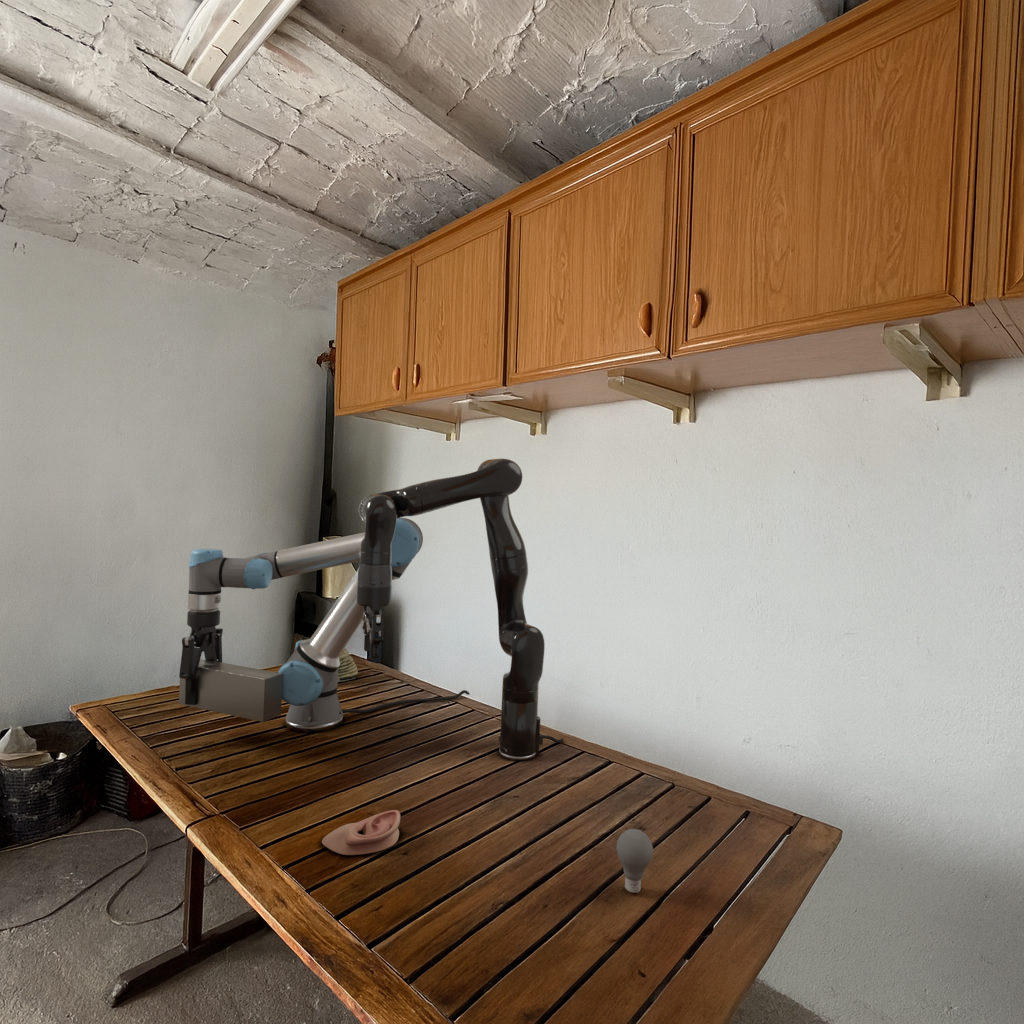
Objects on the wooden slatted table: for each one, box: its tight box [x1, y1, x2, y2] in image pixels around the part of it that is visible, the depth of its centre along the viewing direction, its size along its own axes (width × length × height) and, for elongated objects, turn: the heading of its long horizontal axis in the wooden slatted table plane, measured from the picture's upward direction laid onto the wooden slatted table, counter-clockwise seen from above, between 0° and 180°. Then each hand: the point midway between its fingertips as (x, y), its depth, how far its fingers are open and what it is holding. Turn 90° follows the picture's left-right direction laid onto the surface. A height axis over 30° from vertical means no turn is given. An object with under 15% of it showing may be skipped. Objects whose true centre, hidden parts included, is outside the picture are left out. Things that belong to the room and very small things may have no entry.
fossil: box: [338, 647, 359, 683], centre depth 217 cm, size 9×18×15 cm, turn 132°
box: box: [178, 658, 283, 723], centre depth 158 cm, size 27×6×10 cm, turn 69°
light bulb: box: [615, 828, 654, 894], centre depth 106 cm, size 6×6×10 cm
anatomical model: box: [321, 809, 401, 856], centre depth 118 cm, size 13×4×12 cm
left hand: (200, 699), depth 161 cm, fingers closed on box, 7 cm apart
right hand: (371, 655), depth 142 cm, fingers open, 8 cm apart
